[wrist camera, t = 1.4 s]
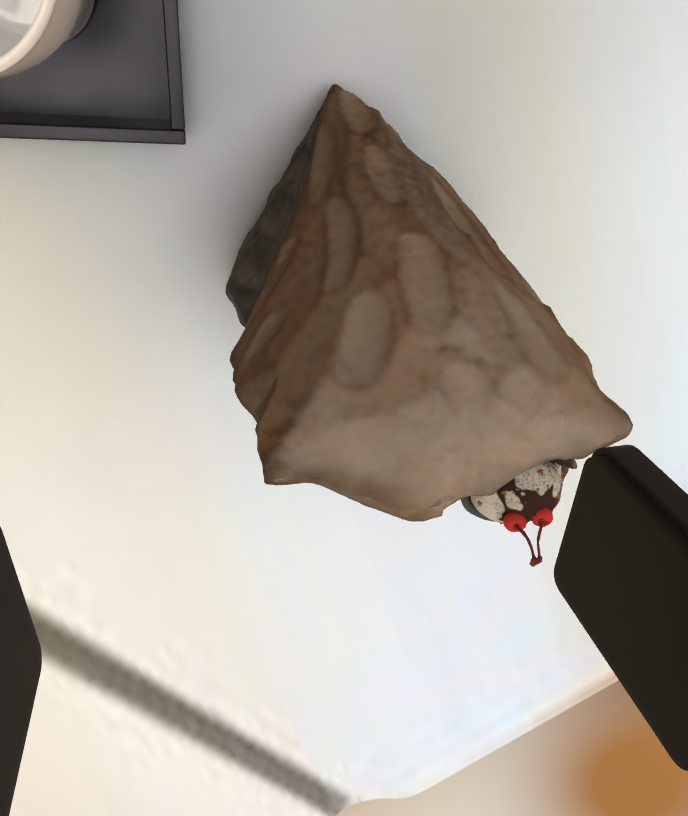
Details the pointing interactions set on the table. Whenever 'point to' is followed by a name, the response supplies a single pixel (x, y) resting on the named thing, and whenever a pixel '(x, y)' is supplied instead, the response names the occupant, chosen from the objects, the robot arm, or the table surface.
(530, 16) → the table surface
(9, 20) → the drinking glass
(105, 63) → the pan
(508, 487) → the sundae
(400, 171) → the brown craggy rock
